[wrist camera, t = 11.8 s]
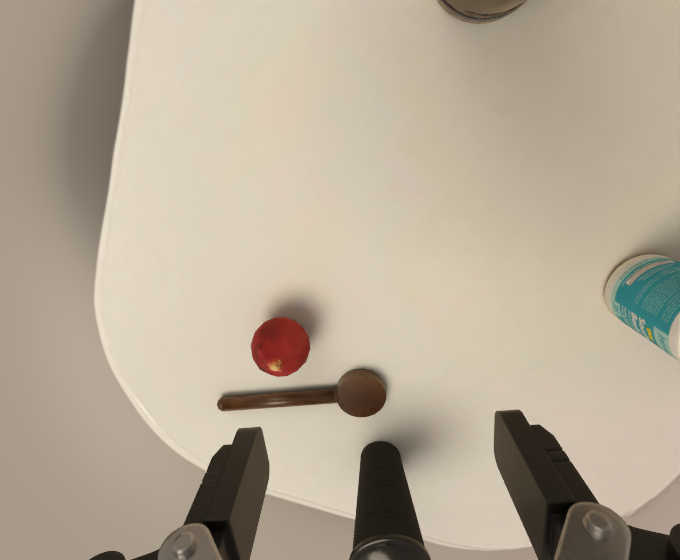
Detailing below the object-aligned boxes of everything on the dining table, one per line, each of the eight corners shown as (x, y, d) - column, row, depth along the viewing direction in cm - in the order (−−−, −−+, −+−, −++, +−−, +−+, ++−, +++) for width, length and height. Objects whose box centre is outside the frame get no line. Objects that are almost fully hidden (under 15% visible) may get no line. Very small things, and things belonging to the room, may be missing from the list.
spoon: (214, 380, 46) (210, 388, 45) (383, 366, 45) (384, 375, 44) (224, 419, 48) (220, 428, 47) (386, 407, 47) (387, 416, 46)
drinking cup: (384, 420, 48) (405, 607, 29) (423, 459, 50) (467, 657, 31) (336, 453, 50) (328, 648, 31) (376, 489, 51) (390, 693, 33)
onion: (276, 360, 45) (261, 405, 38) (250, 318, 44) (228, 357, 36) (321, 339, 44) (315, 382, 37) (296, 296, 42) (284, 332, 35)
